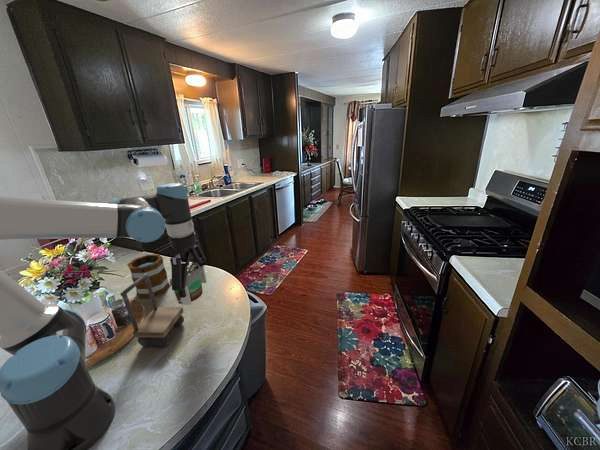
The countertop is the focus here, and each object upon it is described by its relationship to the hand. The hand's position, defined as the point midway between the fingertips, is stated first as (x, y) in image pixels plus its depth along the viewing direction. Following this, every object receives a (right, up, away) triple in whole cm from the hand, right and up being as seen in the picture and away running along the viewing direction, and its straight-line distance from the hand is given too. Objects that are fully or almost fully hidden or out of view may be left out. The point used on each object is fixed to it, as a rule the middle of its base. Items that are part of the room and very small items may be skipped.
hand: (195, 292), depth 83 cm
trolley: (-12, -15, +2) cm, 19 cm away
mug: (-32, -6, +30) cm, 44 cm away
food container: (0, -1, 0) cm, 1 cm away
